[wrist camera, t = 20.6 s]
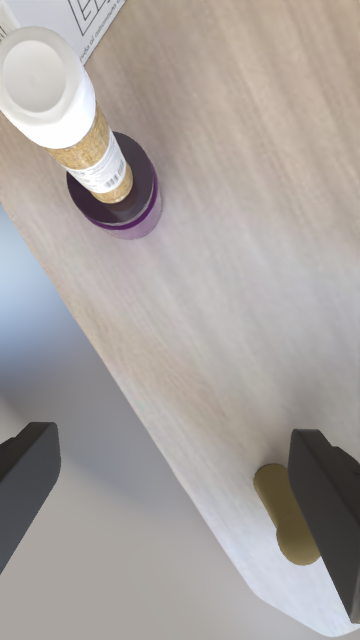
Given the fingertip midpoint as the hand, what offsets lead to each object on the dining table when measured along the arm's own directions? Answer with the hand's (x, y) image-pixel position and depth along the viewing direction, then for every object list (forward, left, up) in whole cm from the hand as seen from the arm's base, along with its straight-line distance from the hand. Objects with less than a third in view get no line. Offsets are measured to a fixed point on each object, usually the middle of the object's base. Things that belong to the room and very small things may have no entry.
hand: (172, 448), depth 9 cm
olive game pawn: (+10, +28, -29) cm, 41 cm away
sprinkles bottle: (-7, -15, -19) cm, 25 cm away
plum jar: (-7, -15, -29) cm, 33 cm away
